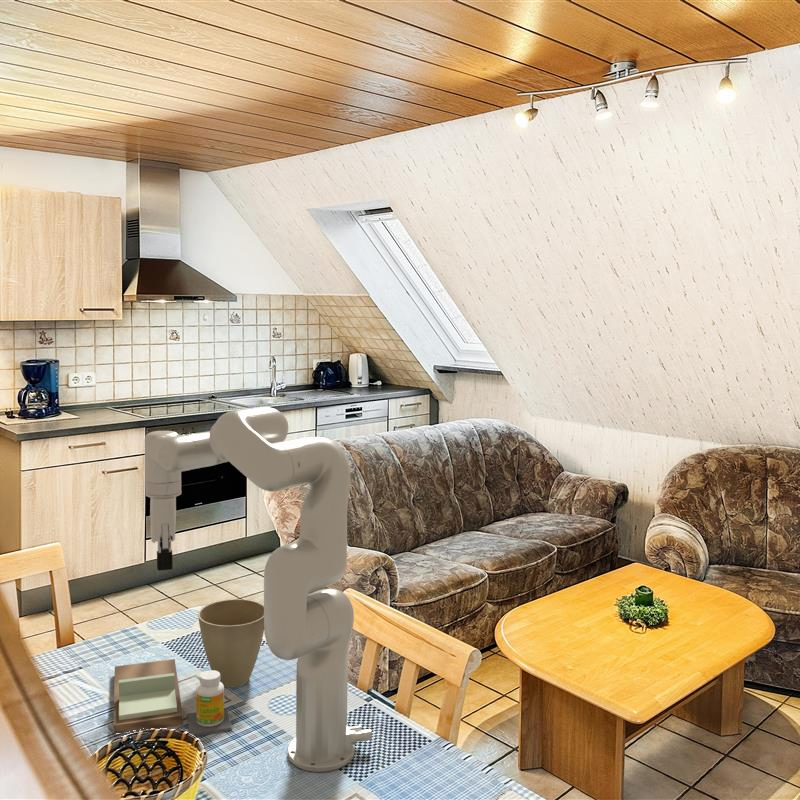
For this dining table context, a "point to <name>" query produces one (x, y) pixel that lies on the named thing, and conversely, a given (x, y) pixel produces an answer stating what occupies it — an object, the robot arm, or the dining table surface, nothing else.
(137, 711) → the slide cover
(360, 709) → the dining table surface
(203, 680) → the supplement bottle
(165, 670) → the well board
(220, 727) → the pad
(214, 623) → the plant pot
